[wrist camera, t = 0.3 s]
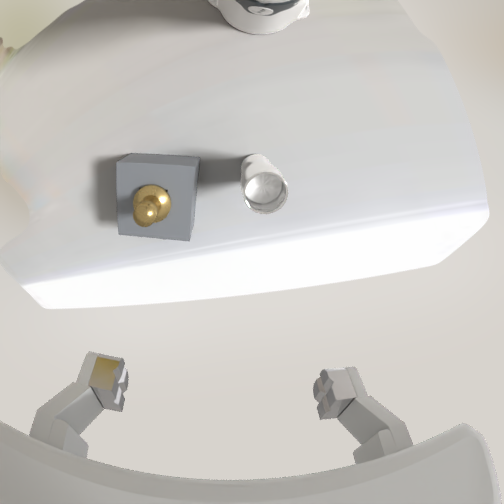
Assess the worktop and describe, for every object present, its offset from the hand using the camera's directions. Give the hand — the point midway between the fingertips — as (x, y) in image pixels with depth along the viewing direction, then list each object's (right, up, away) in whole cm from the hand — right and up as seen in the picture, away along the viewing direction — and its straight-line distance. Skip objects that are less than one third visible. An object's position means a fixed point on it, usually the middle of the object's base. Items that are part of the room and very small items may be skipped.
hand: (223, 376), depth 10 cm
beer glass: (+2, +21, +42) cm, 47 cm away
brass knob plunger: (-17, +18, +42) cm, 48 cm away
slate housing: (-17, +18, +42) cm, 48 cm away
